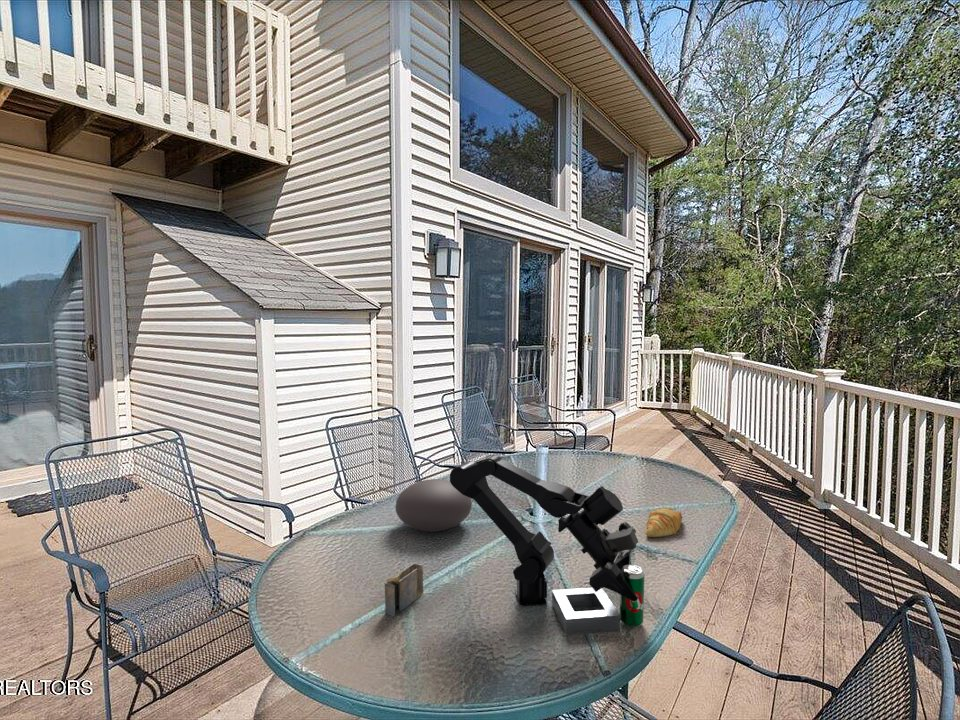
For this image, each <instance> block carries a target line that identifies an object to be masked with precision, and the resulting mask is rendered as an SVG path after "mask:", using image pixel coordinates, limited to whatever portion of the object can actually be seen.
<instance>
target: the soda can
mask: <svg viewBox="0 0 960 720" xmlns="http://www.w3.org/2000/svg"><path fill="white" fill-rule="evenodd" d="M623 567H624V578H625V579H626V580H627V582H628V583H629V585H630V586H631V588H632V589H633V591H634V592H635V594H636V596H637V597H638V600H636V601H632V600H630V599H628V598H626V597H624V596H622V595H620V594H619V614H620V622H622V623H623V624H624V625H625V626H628V627H633V628H635V627H639V626H641V625H642V624H644V613H645V611H644V608H645V604H644V602H645V577H646V576H645V573H644V570H643V568H642V567H640V566H638V565H636V564H632V565H625V566H623Z"/></svg>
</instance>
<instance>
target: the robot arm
mask: <svg viewBox="0 0 960 720" xmlns="http://www.w3.org/2000/svg"><path fill="white" fill-rule="evenodd" d="M449 473H450V474H449V481H450V483H451V484H452V486H453V487H454V488H455V489H457V490H458V491H459V492H460V493H461V494H462V495H465V496H467V497H469V498H471V500H473V501H474V502H475V503H476V504H477V505H478V506H479V507H480V508H481V509H482V510H483V512H484V513H485V514H486V515H487V517H489V518H490V520H491V521H492V522H493V523H494V524H495V526H496V527H497V528H498V529H499V530H500V531H501V533H502V534H503V535H504V536H505V537H506V538H507V539H508V540H509V542H510V543H511V544H512V545H513V548H514V551H515V553H516V557H517V560H518V561H519V564H518V565H517V566H516V567H515V568H514V569H513V570H512V573H513V576H514V579H515V580H516V590H515V591H514V592H515V593H514V594H515V596H516V600H517V602H518V605H519V606H520V607H528V606H530V607H531V606H541V605H542V606H544V605H547V598H548V580H547V579H546V576H545V573H544V572H545V571H546V570H547V569H548V568H549V566H550V565H551V563H552V562H553V561H554V558H555V551H554V550H555V549H554V548H553V547H552V542H551V541H549V540H547V538H546V537H545V535H544V534H543V533H542V532H541V531H538V532H537V533H534V532H531V531H529V530H528V529H527V528H526V527H525V526H524V525H523V524H522V523H521V521H520V520H519V519H518V517H516V516H515V515H514V513H513V512H512V511H511V510H510V508H508V507H507V505H506V504H505V503H504V502H503V501H502V500H501V498H499V497H498V496H497V494H496V493H495V492H494V491H493V490H492V489H491V488H490V486H489V483H488V481H487V476H492V477H494V478H495V479H498V480H499V481H502V482H503V483H505V484H507V485H509V486H510V487H513V488H514V489H516V490H517V491H519V492H521V493H523V494H525V495H527V496H529V497H531V498H532V499H533V500H535V501H536V503H537V504H538V506H539V507H540V508H541V509H543V511H545V512H547V514H549V515H550V516H552V517H554V518H555V519H556V518H558V520H557V522H558V528H557V529H558V530H557V532H559V533H562V531H564V530H566V529H568V531H569V532H570V533H571V535H572V536H573V538H575V540H577V542H578V543H579V544H580V546H581V547H582V548H581V550H580V552H581V553H583V554H584V555H585V554H586V553H587V554H588V555H589V556H590V558H591V559H592V560H593V562H594V564H593V568H594V569H595V570H594V571H593V572H592V573H591V575H590V577H589V581H588V582H589V586H590V588H593V590H594V591H595V592H597V591H598V590H600V589H601V588H602V589H604V588H605V589H607V590H609V591H612V592H615V593H616V594H618V595H619V596H620V595H622V596H624V597H626V598H628V599H630V600H632V601H636V600H638V597H637V596H636V594H635V592H634V591H633V589H632V588H631V586H630V585H629V583H628V582H627V580H626V579H625V578H624V567H623V566H625V565H633V564H632V561H631V558H632V550H634V549H636V548H637V544H638V543H639V539H638V537H637V534H636V533H637V530H636V529H635V528H634V527H633V526H631V525H630V524H629V523H628V522H627V521H624V522H621V523H620V524H619V525H618V530H615V532H610V531H609V530H608V529H606V528H603V529H601V527H600V526H599V525H601V526H604V525H605V524H607V523H608V522H609V521H611V520H612V519H613V518H614V517H616V516H617V515H618V514H620V513H621V512H622V511H624V506H623V504H622V502H621V500H620V498H619V497H618V496H617V495H616V494H615V493H613V492H612V491H610V490H609V489H606V488H605V487H604V486H603V485H600V486H599V487H598V488H596V490H595V491H594V492H592V494H590V495H587V494H583V493H581V492H576V491H574V489H573V488H571V487H570V486H567V485H564V484H561V483H558V482H554V481H548V480H547V481H546V480H543V479H541V478H539V477H537V476H536V475H534V474H531V473H529V472H527V471H525V470H524V469H522V468H520V467H518V466H516V465H515V464H513V463H510V462H509V461H506V460H505V459H503V458H502V457H501V456H499V455H492V456H490V457H488V458H484V459H481V460H478V461H473V460H466V461H465V462H463V463H461V464H459V465H457V466H456V467H454V468H453V469H451V471H450V472H449ZM626 551H627V552H626Z"/></svg>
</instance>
